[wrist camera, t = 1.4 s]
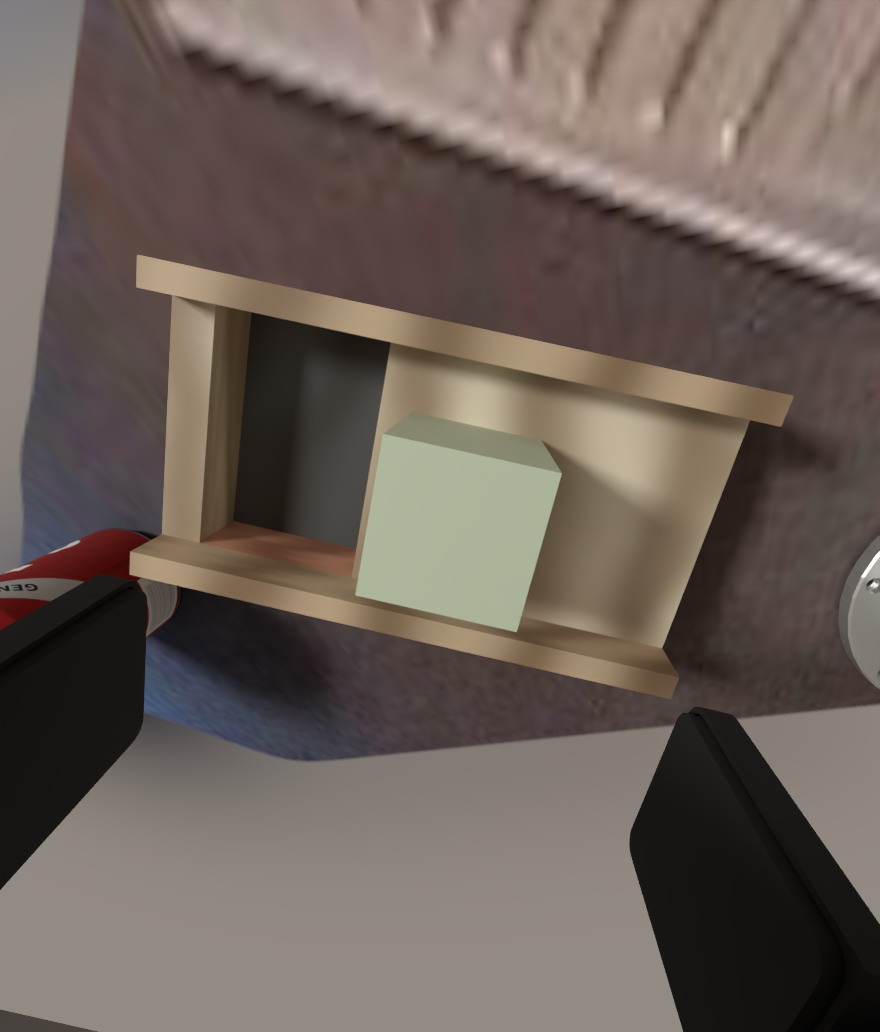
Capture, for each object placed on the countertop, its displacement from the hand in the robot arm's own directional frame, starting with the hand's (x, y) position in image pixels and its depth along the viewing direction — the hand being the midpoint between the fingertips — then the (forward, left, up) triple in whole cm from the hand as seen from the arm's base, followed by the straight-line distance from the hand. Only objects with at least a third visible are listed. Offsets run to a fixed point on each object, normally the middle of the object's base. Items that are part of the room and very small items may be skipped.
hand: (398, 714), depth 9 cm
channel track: (+1, 0, -21) cm, 21 cm away
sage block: (0, 0, -17) cm, 17 cm away
